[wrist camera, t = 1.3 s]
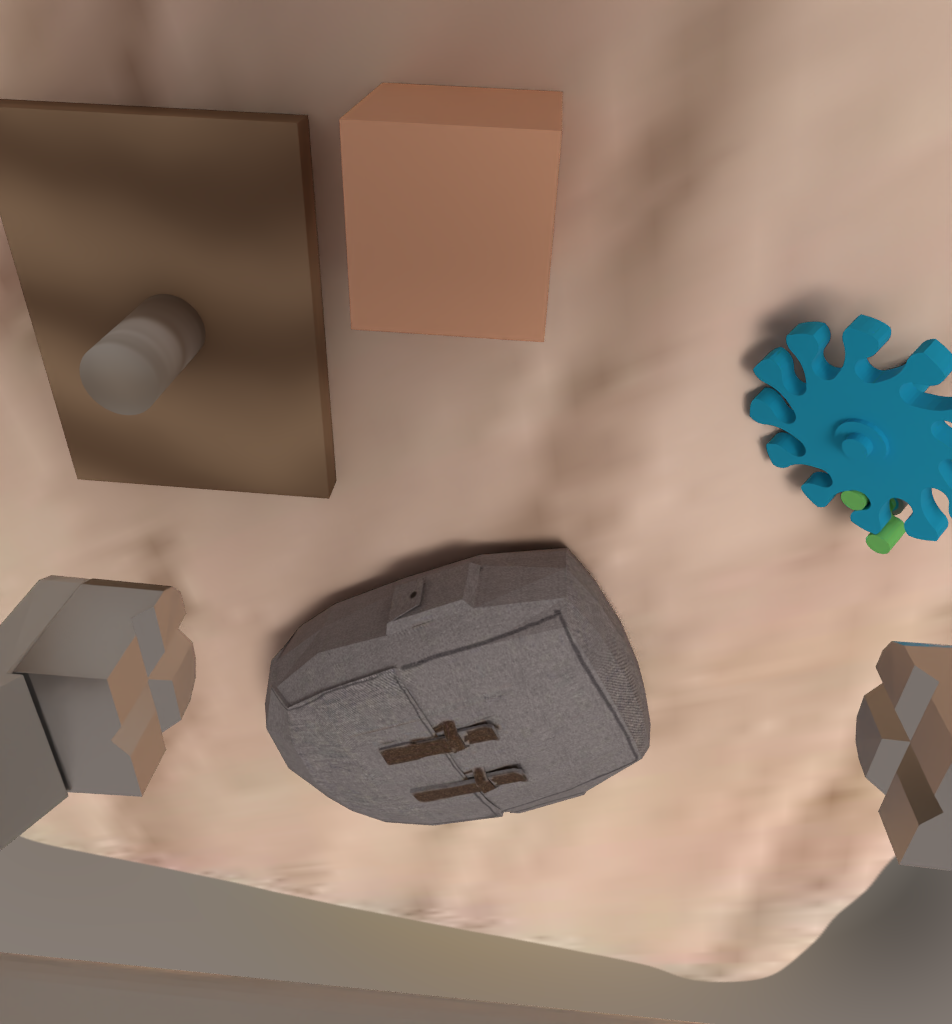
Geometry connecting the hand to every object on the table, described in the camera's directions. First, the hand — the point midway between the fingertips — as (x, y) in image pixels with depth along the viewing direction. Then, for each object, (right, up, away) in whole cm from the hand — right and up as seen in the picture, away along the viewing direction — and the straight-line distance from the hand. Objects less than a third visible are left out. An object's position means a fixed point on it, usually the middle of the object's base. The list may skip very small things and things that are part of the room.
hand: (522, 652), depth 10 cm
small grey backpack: (-2, -6, +36) cm, 37 cm away
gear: (+15, +7, +25) cm, 30 cm away
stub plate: (-13, +10, +25) cm, 30 cm away
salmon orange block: (-1, +14, +21) cm, 26 cm away
